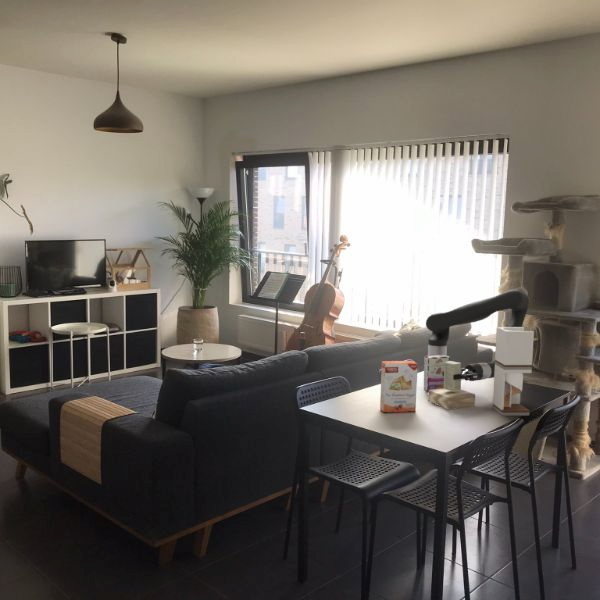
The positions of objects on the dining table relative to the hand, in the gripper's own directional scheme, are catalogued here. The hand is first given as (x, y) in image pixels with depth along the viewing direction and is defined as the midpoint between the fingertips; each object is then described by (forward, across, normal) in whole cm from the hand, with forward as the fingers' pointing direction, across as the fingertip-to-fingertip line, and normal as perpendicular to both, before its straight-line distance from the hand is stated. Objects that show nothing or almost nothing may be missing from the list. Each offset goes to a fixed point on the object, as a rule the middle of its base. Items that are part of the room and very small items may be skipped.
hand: (448, 375), depth 276 cm
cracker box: (+26, 0, +13) cm, 29 cm away
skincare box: (-2, 0, +7) cm, 7 cm away
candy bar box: (-10, -21, +13) cm, 27 cm away
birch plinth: (-2, 0, +13) cm, 13 cm away
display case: (-17, +20, +13) cm, 29 cm away
